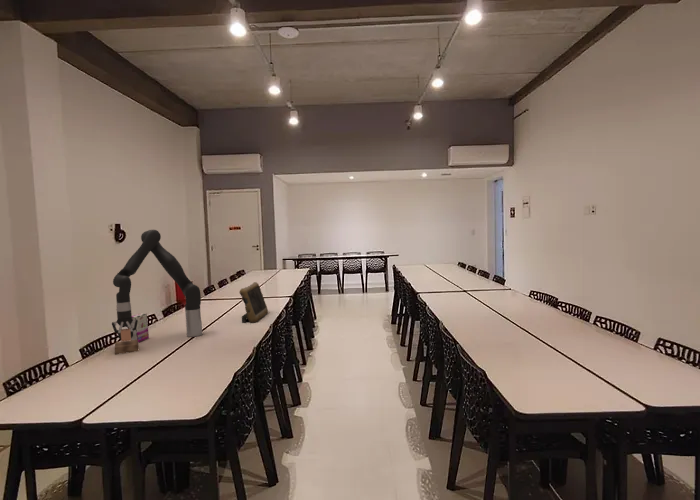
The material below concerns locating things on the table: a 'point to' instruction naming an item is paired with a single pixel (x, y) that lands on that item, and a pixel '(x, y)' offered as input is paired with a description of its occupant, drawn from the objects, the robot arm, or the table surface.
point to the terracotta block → (125, 335)
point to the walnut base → (126, 346)
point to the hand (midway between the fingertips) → (126, 338)
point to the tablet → (253, 303)
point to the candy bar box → (140, 327)
